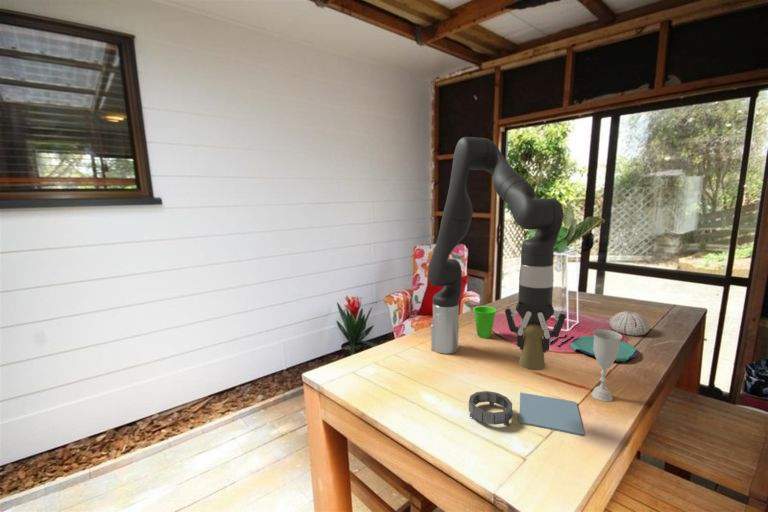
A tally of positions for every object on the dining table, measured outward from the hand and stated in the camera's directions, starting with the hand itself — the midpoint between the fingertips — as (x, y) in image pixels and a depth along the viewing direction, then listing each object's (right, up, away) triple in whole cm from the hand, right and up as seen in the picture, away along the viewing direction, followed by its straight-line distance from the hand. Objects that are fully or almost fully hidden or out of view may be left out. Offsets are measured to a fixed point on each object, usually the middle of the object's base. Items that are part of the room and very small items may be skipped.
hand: (532, 349), depth 88 cm
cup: (+3, -9, +54) cm, 55 cm away
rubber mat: (+6, -17, +3) cm, 18 cm away
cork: (0, -4, +1) cm, 4 cm away
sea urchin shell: (+62, -7, +56) cm, 83 cm away
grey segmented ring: (-10, -17, +3) cm, 20 cm away
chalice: (+23, -16, +10) cm, 30 cm away
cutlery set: (+38, -11, +42) cm, 58 cm away
